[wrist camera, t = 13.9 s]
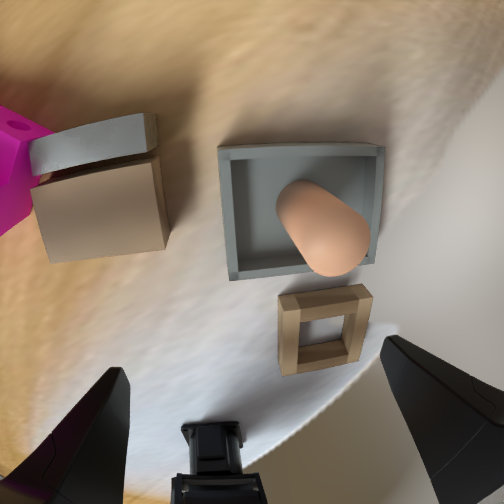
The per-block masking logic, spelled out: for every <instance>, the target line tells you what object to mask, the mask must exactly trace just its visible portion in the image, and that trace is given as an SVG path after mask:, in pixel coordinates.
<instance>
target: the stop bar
mask: <svg viewBox="0 0 504 504" xmlns="http://www.w3.org/2000/svg"><path fill="white" fill-rule="evenodd" d="M157 146H159V144H158V133H157V123H156V113H138V114H133V115H127V116H122V117H117V118H113V119H108V120H104V121H99V122H95V123H91V124H87V125H83V126H79V127H76V128H72V129H68V130H65V131H61V132H58V133H55V134H51V135H48V136H45V137H42V138H39V139H36V140H33V141H30V142H28V149H29V156H30V162H31V168H32V174H33V177H34V176H37V175H41V174H44V173H48V172H52V171H56V170H60V169H64V168H68V167H72V166H77V165H81V164H85V163H90V162H95V161H100V160H105V159H110V158H115V157H120V156H126V155H132V154H138V153H144V152H148V151H150V150H151V149H153V148H155V147H157Z"/></svg>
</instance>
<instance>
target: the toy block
mask: <svg viewBox="0 0 504 504" xmlns="http://www.w3.org/2000/svg"><path fill="white" fill-rule="evenodd" d="M51 134H55V133H54V132H52V131H50V130H48V129H46V128H45V127H43V126H41V125H39V124H37V123H35V122H33V121H31V120H29V119H27V118H25V117H23V116H21V115H19V114H17V113H15V112H13V111H11V110H9V109H7V108H5V107H3V106H1V105H0V236H2V235H3V234H4V233H5V232H7V231H8V230H9V229H11V228H12V227H13V226H15V225H16V224H18V223H19V222H20V221H22V220H23V219H24V218H26V217H27V216H29V215H30V211H31V208H32V204H33V201H32V197H31V192H30V189H31V188H33V187H35V186H37V185H38V183H39V180H40V177H41V175H37V176H34V177H33V174H32V168H31V162H30V156H29V149H28V142H30V141H33V140H36V139H39V138H42V137H45V136H48V135H51Z"/></svg>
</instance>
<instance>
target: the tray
mask: <svg viewBox="0 0 504 504" xmlns="http://www.w3.org/2000/svg"><path fill="white" fill-rule="evenodd" d="M217 152H218V165H219V178H220V190H221V202H222V213H223V224H224V235H225V246H226V256H227V266H228V274H229V281H237V280H246V279H255V278H263V277H272V276H281V275H289V274H297V273H305V272H313V270H312V269H311V268H310V267H309V265H308V264H307V262H306V261H305V259H304V257H303V256H302V254H301V253H300V251H299V250H298V248H297V246H296V245H295V243H294V242H293V240H292V239H291V237H290V236H289V234H288V232H287V231H286V229H285V228H284V226H283V225H282V223H281V222H280V220H279V218H278V216H277V213H276V201H277V198H278V196H279V194H280V192H281V191H282V190H283V188H285V187H286V186H287V185H288V184H290V183H292V182H294V181H297V180H309V181H312V182H314V183H316V184H318V185H319V186H320V187H322V188H323V189H325V190H326V191H328V192H329V193H331V194H332V195H334V196H335V197H336V198H338V199H339V200H341V201H342V202H343V203H345V204H346V205H348V206H349V207H350V208H352V209H353V210H355V211H356V212H357V213H359V214H360V215H361V216H362V217H363V218H364V219H365V220H366V222H367V224H368V226H369V229H370V235H371V238H370V245H369V249H368V251H367V254H366V255H365V257H364V259H363V260H362V261H361V262H360V264H359V265H366V264H374V262H375V255H376V247H377V240H378V232H379V223H380V214H381V203H382V191H383V177H384V158H385V147H382V146H378V145H374V144H370V143H348V142H291V143H264V144H247V145H232V146H220V147H217ZM359 265H358V266H359Z"/></svg>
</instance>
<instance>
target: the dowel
mask: <svg viewBox="0 0 504 504" xmlns="http://www.w3.org/2000/svg"><path fill="white" fill-rule="evenodd" d="M276 213H277V216H278V218H279V220H280V222H281V223H282V225H283V226H284V228H285V229H286V231H287V232H288V234H289V236H290V237H291V239H292V240H293V242H294V243H295V245H296V246H297V248H298V250H299V251H300V253H301V254H302V256H303V257H304V259H305V261H306V262H307V264H308V265H309V267H310V268H311V269H312V270H313V271H315V272H316V273H318V274H320V275H323V276H330V277H333V276H340V275H343V274H345V273H348V272H349V271H351V270H353V269H354V268H355V267H356V266H358V265H359V264H360V262H361V261H362V260H363V259H364V257H365V255H366V254H367V251H368V249H369V245H370V238H371V235H370V229H369V226H368V224H367V222H366V220H365V219H364V218H363V217H362V216H361V215H360V214H359V213H357V212H356V211H355V210H353V209H352V208H350V207H349V206H348V205H346V204H345V203H343V202H342V201H341V200H339V199H338V198H336V197H335V196H334V195H332V194H331V193H329V192H328V191H326V190H325V189H323V188H322V187H320V186H319V185H318V184H316V183H314V182H312V181H309V180H297V181H294V182H292V183H290V184H288V185H287V186H286V187H285V188H283V190H282V191H281V192H280V194H279V196H278V198H277V201H276Z"/></svg>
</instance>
